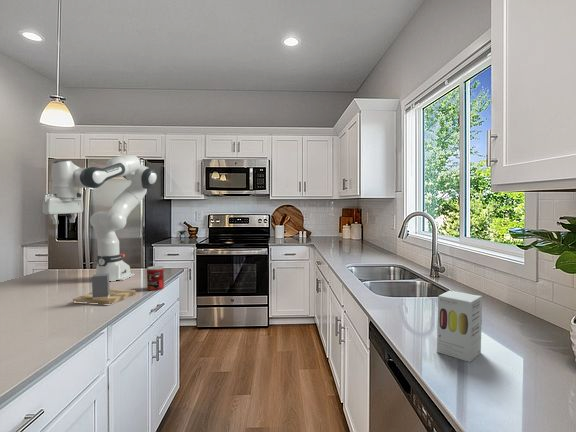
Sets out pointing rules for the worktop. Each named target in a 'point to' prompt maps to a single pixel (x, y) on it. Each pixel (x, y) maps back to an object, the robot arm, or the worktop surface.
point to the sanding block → (100, 286)
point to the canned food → (155, 278)
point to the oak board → (114, 297)
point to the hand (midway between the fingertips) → (64, 223)
